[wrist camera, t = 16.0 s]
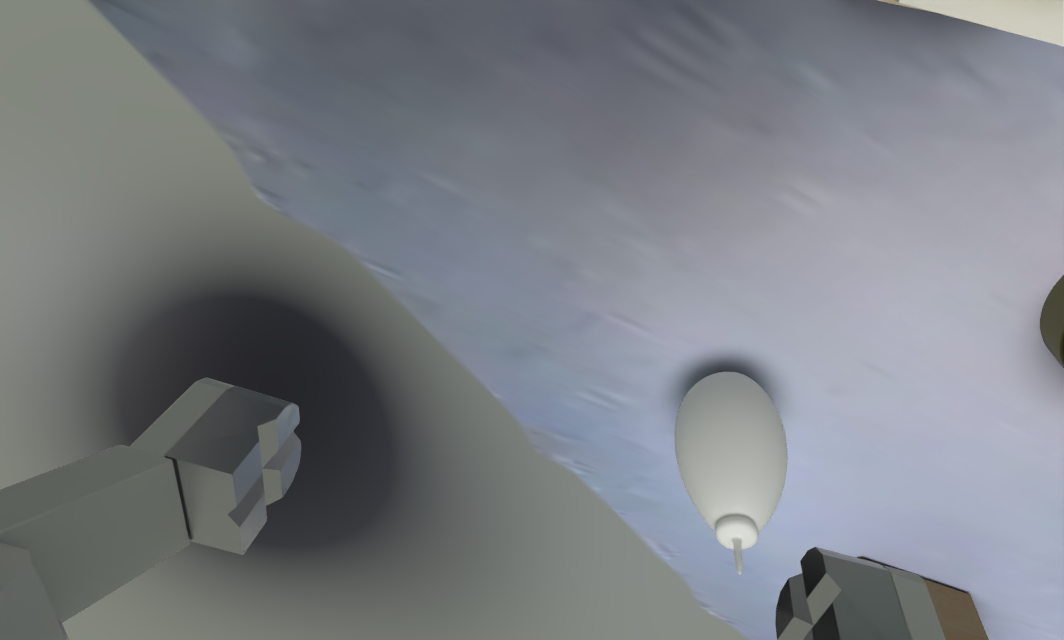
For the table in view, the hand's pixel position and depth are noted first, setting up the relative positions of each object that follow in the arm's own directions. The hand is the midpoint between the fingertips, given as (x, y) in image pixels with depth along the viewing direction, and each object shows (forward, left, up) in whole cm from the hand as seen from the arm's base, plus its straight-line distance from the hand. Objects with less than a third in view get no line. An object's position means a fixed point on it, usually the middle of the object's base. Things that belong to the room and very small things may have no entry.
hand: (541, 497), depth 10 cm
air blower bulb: (+13, -24, -37) cm, 46 cm away
